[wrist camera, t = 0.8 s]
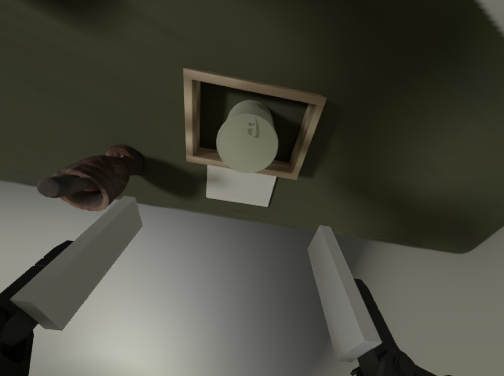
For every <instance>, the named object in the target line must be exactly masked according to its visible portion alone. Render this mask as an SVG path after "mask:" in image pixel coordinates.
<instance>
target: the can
mask: <svg viewBox="0 0 504 376" xmlns="http://www.w3.org/2000/svg"><path fill="white" fill-rule="evenodd" d="M217 150H218V153H219V155H220V157H221V159H222V160H223V162H224V163H225V164H226V165H227V166H229V167H230V168H231V169H233V170H235V171H238V172H242V173H255V172H258V171H261V170H263V169H265V168H266V167H267V166H269V165H270V164H271V162H272V161H273V160H274V158H275V156H276V154H277V151H278V137H277V134H276V131H275V129H274V126H273V118H272V115H271V113H270V111H269V110H268V109H267V108H266V107H265V106H264V105H263V104H261V103H260V102H257V101H252V100H247V101H243V102H240V103H238V104H237V105H236V106H234V107H233V109H232V110H231V111H230V113H229V116H228V118H227V120H226V122H225V123H224V124H223V125H222V126H221V128H220V130H219V132H218V135H217Z"/></svg>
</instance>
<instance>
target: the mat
mask: <svg viewBox="0 0 504 376" xmlns="http://www.w3.org/2000/svg"><path fill="white" fill-rule="evenodd" d="M276 177H277V176H271V175H265V174H259V173H242V172H238V171H235V170H233V169H229V168H223V167H217V166H212V165H208V169H207V193H206V197H207V198H213V199H220V200H226V201H233V202H239V203H246V204H252V205H259V206H265V207H268V204H269V201H270V197H271V194H272V190H273V187H274V184H275V180H276Z"/></svg>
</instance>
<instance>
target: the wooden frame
mask: <svg viewBox="0 0 504 376" xmlns="http://www.w3.org/2000/svg"><path fill="white" fill-rule="evenodd" d="M183 70H184V100H185V130H186V160H187V161H188V162H194V163H200V164H206V165H212V166H217V167H223V168H229V169H231V168H230V167H229V166H227V165H226V164H225V163H224V162H223V160H222V159H221V157H220V155H219V153H218V150H213V149H207V148H201V147H200V81H202V82H207V83H212V84H217V85H222V86H227V87H232V88H237V89H242V90H247V91H252V92H256V93H261V94H266V95H271V96H276V97H281V98H286V99H291V100H296V101H301V102H306V103H308V106H307V109H306V112H305V115H304V118H303V121H302V125H301V128H300V131H299V134H298V137H297V140H296V143H295V146H294V149H293V152H292V155H291V158H290V162H289V163H287V162H281V161H275V160H273V161H272V162H271V164H270V165H269V166H267V167H266V168H265V169H263V170H261V171H258V172H255V173H259V174H265V175H271V176H277V177H283V178H289V179H294V180H297V177H298V174H299V172H300V169H301V166H302V164H303V161H304V158H305V156H306V153H307V150H308V148H309V145H310V142H311V140H312V137H313V134H314V132H315V129H316V126H317V124H318V121H319V118H320V115H321V113H322V110H323V107H324V105H325V102H326V99H327V98H326V97H323V96H321V95H319V94H315V93H310V92H305V91H300V90H295V89H290V88H286V87H281V86H276V85H271V84H266V83H262V82H257V81H252V80H247V79H242V78H238V77H233V76H228V75H223V74H218V73H214V72H209V71H204V70H199V69H194V68H183Z"/></svg>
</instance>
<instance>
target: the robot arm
mask: <svg viewBox="0 0 504 376" xmlns="http://www.w3.org/2000/svg"><path fill="white" fill-rule="evenodd" d="M141 227H142V222H141V218H140V214H139V210H138V206H137V202H136V198H135V197H128V196H123V197H122V198H121V199H120V200H119V201H118V202H117V203H116V204H115V205H114V206H113V207H111V208H110V209H109V210H108V211H107V212H106V213H105V214H104V215H103V216H101V217H100V218H99V219H98V220H97V221H96V222H95V223H94V224H92V226H90V227H89V228H88V229H87V230H86V231H85V232H84V233H83V234H82V235H80V236H79V237H78V238H77V239H76V240H75V241H68V240H67V241H65V242H64V243H62V244H60V245H58V246H56V247H55V248H53V249H52V250H51V251H50V252H49V253H48V254H46V255H45V256H44V258H43V259H41V260H39V261H38V262H37V263H36V264H35V266H32V267H31V268H30V269H29V270H28V271H26V272H25V273H24V274H23V275H22V276H20V277H19V278H18V279H17V280H16V281H15V282H13V283H12V284H11V285H10V286H9V287H7V288H6V289H5V290H4V291H3V292H2V293H0V376H28V375H29V368H30V360H31V352H32V345H33V338H34V334H33V329H34V328H35V327H36V325H37V324H40V325H41V326H42V327H43V328H45V329H53V330H63V329H64V327H65V326H66V325H67V323H68V322H69V321H70V320H71V318H72V317H73V316H74V314H75V313H76V312H77V311H78V309H79V308H80V307H81V305H82V304H83V303H84V301H85V300H86V299H87V298H88V296H89V295H90V294H91V292H92V291H93V290H94V288H95V287H96V286H97V284H98V283H99V282H100V280H101V279H102V278H103V277H104V275H105V274H106V273H107V272H108V270H109V269H110V268H111V266H112V265H113V264H114V262H115V261H116V260H117V258H118V257H119V256H120V255H121V253H122V252H123V251H124V249H125V248H126V247H127V246H128V244H129V243H130V242H131V240H132V239H133V238H134V236H135V235H136V234H137V233H138V231H139V230H140V229H141ZM308 253H309V257H310V261H311V265H312V268H313V272H314V276H315V280H316V284H317V287H318V291H319V294H320V299H321V302H322V306H323V310H324V314H325V318H326V321H327V325H328V329H329V333H330V337H331V341H332V344H333V348H334V352H335V356H336V359H337V361H345V362H352V361H354V360H356V359H358V362H359V365H360V366H359V367H357V368H355V369H354V370H352V372H351V375H352V376H353V375H355V374H356V376H436V375H434V374H432V373H430V372H428V371H426V370H424V369H422V368H420V367H418V366H417V365H415V364H414V362H413V361H412V360H411V359H410V358H409V357H408V356H407V355H406V354H405V353H404V352H402V351H400V349H399V348H398V346H397V345H396V343H395V341H394V339H393V337H392V335H391V333H390V331H389V329H388V327H387V325H386V323H385V321H384V319H383V317H382V315H381V313H380V311H379V310H378V307H377V305H376V303H375V301H374V300H373V297H372V295H371V293H370V291H369V289H368V288H367V286H366V285H365V284H364V283H363V281H362V280H360V279H353V277H352V275H351V272H350V270H349V268H348V266H347V263H346V261H345V259H344V257H343V255H342V252H341V250H340V248H339V245H338V243H337V241H336V239H335V237H334V234H333V232H332V230H331V228H330V227H328V226H321V225H320V226H319V228H318V230H317V232H316V234H315V236H314V238H313V240H312V242H311V244H310V246H309V248H308ZM446 376H451V375H446Z"/></svg>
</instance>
